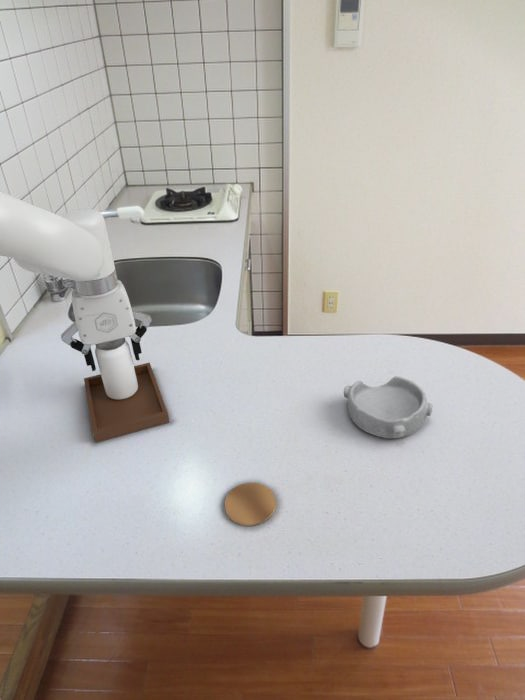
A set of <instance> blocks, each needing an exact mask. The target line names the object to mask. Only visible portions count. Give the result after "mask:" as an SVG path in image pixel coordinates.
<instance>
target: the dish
mask: <svg viewBox="0 0 525 700" xmlns="http://www.w3.org/2000/svg"><path fill="white" fill-rule="evenodd" d="M343 397H344V398H346V399H347V408H348V414H349V417H350V419H351V421H352V422H353V423H354V424H355V425H356V426H357V427H358V428H359V429H361V430H362V431H364V432H366V433H368V434H370V435H373V436H377V437H379V438H385V439H400V438H401V439H402V438H405V437H408V436H409V435H412V434H414V433H415V432H417V431H418V430H420V429H421V428H422V426H423V425H424V423H425V421H426V418H427V417H431V415H432V413H433V403H431V402H428V401H427V395H426V393H425V391H424V390H423V389H422V388H421V387H420V385H418V384H417V383H415V382H414V381H412V380H410V379H408V378H404V377H402V376H399V375H394V377H392V378H391V379H390V380H388V381H387V382H386V383H384V384H382V385H379V386H369V385H367V384H365V383H363V381H361V380H358V381H355V382H354V383H353V384H352V385H346V386H344V388H343Z"/></svg>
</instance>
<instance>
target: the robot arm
mask: <svg viewBox="0 0 525 700" xmlns="http://www.w3.org/2000/svg"><path fill="white" fill-rule="evenodd" d="M0 256H3V257H7V258H13V261H14V262H15V263H16V264H17V266H19V267H21V268H22V269H23V270H25V271H28V272H31V273H35V274H38V275H44V276H50V277H57V278H61V279H66V280H63V284H64V288H65V289H68V288H69V289H72V291H71V304H72V311H73V312H72V313H73V316H74V321H73V322H72V323H71V324H70V325H69V326H68V327H67V328H66V329H65V330H64V331H63V332H62V333H61V335H60V340H61V341H62V342H63V343H65V344H66V345H68V346H70V348H71V349H73V350H76V351H78V352H80V353H81V354H82V356H84V360H85V364H86V366H87V367H89V366H90V368H91V371H92V372H95V371H96V370H97V367H96V363H95V360H94V356H93V352H92V346H94V345H95V344H99V343H104V342H108V341H113V340H117V339H121V338H125V339H126V338H128V337H129V338H130V342H131V346H132V352H133V355H134V358H135V360H136V361H140V354H142V353H143V352H142V347H141V341H142V338H143V336H144V335H145V334H146V333H147V331H148V328H149V327H150V324H151V323H152V321H153V319H152V317H151V316H150V314H147V313H144V312H141V311H138V310H136V309H133V308H132V306H131V302H130V299H129V295H128V293H127V290H126V288H125V285H124V284H123V283H122V281H121V280H119V279H118V274H117V270H116V267H115V261H114V257H113V252H112V248H111V242H110V238H109V234H108V229H107V223H106V220H105V217H104V216H103V214H102V213H101V212H100V211H98V210H96V209H94V208H76V209H73V210H69V211H66V212H65V213H63V214H62V215H59V214H56V213H54V212H52V211H49V210H46V209H45V208H41V207H39V206H37V205H34V204H32V203H29V202H26V201H24V200H22V199H20V198H18V197H15V196H13V195H10V194H9V193H5V192H4V191H0ZM136 320H137V321H140V324H139V325H138V326H137V327H136ZM76 333H78V337H79V340H78V339H77V338H74V337H73V336H74V335H75V334H76Z"/></svg>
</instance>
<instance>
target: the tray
mask: <svg viewBox="0 0 525 700" xmlns="http://www.w3.org/2000/svg"><path fill="white" fill-rule="evenodd" d="M134 369H135V374H136V378H137V383H138V389H137V391H136V392H135V394H134V395H132V396H131V397H129V398H127V399H123V400H115V399H112V398H110V397H108V396H107V394H106V391H105V388H104V384H103V381H102V377H101V373H100V374H96V375H91V376H87V377H84V378H83V382H84V389H85V393H86V399H87V405H88V410H89V412H88V413H89V416H90V418H89V419H90V423H91V429H92V434H93V438H94V442H95V443H96V444H97V443H100V442H105V441H107V440H111V439H116V438H119V437H122V436H125V435H129V434H133V433H136V432H141V431H143V430H144V431H145V430H147V429H152V428H155V427H159V426H162V425H166V424H169V423H170V418H169V413H168V410H167V407H166V404H165V401H164V399H163V398H164V397H163V395H162V393H161V391H160V387H159V385H158V382H157V378H156V376H155V373H154V371H153V368H152V365H151V362H145V363H141V364H137V365H134Z"/></svg>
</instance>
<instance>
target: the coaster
mask: <svg viewBox="0 0 525 700" xmlns="http://www.w3.org/2000/svg"><path fill="white" fill-rule="evenodd" d="M276 506H277V500H276V496H275V494H274V493H273V491H272V490H271V489H270V488H269V487H268V486H266V485H264V484H261V483H259V482H258V483H257V482H246V483H241V484H239V485H237V486H235V487H233V488H232V489H231V490H230V491H229V492H228V494H227V495H226V497H225V500H224V510H225V514H226V516H227V517H228V518H229V519H230V520H231V521H232V522H234V523H235V524H238V525H240V526H244V527H245V526H246V527H254V526H258V525H261V524H263V523H265V522H267V521H268V520H269V519H270V518H271V517H272V516H273V515H274V513H275V510H276V508H277V507H276Z"/></svg>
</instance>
